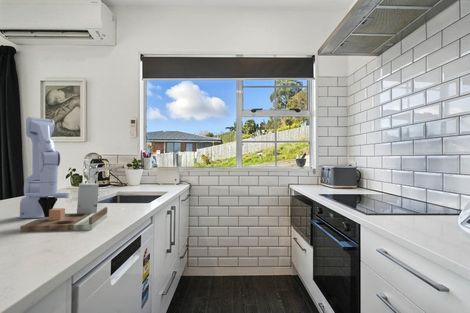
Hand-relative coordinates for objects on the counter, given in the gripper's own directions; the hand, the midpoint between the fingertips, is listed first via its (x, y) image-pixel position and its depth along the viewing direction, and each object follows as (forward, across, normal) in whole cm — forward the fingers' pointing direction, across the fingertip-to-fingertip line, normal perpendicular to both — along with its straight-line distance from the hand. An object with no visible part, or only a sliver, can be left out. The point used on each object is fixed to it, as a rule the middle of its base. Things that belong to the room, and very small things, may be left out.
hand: (47, 216), depth 104 cm
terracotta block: (+1, +3, 0) cm, 4 cm away
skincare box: (+3, +10, +16) cm, 19 cm away
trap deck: (+3, +8, 0) cm, 8 cm away
